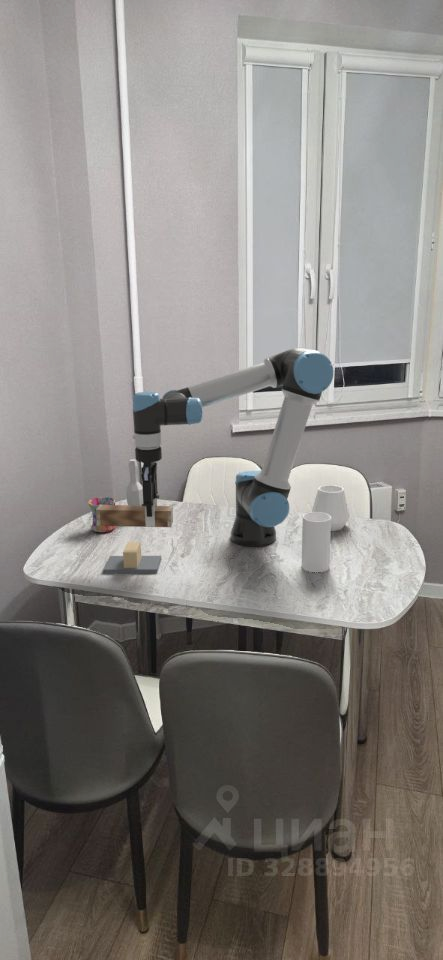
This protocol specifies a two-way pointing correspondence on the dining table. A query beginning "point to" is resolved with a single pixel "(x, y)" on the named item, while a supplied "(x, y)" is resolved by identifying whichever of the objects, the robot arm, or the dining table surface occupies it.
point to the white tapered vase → (332, 505)
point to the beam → (132, 515)
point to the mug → (94, 505)
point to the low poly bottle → (134, 486)
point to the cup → (316, 542)
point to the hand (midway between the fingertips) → (151, 522)
